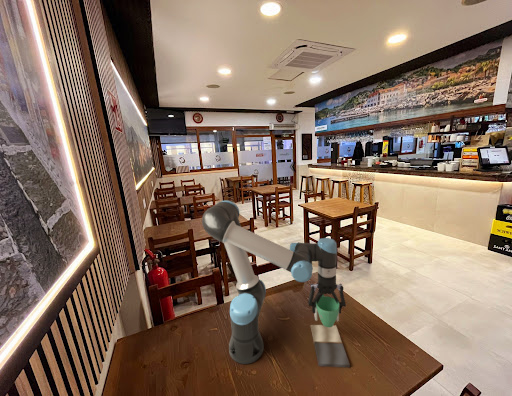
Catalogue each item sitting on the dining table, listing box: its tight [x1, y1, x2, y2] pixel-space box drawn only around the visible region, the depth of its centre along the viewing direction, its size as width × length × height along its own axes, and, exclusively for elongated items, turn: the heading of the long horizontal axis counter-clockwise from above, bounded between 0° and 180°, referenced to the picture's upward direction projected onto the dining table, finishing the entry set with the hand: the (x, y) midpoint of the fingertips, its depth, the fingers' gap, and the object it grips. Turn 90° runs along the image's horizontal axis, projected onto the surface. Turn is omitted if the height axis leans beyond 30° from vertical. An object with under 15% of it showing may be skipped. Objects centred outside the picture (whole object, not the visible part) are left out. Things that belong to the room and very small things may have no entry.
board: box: [310, 324, 351, 368], centre depth 97 cm, size 12×20×2 cm, turn 175°
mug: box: [316, 294, 340, 327], centre depth 99 cm, size 15×10×10 cm
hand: (326, 318), depth 100 cm, fingers closed on mug, 9 cm apart
